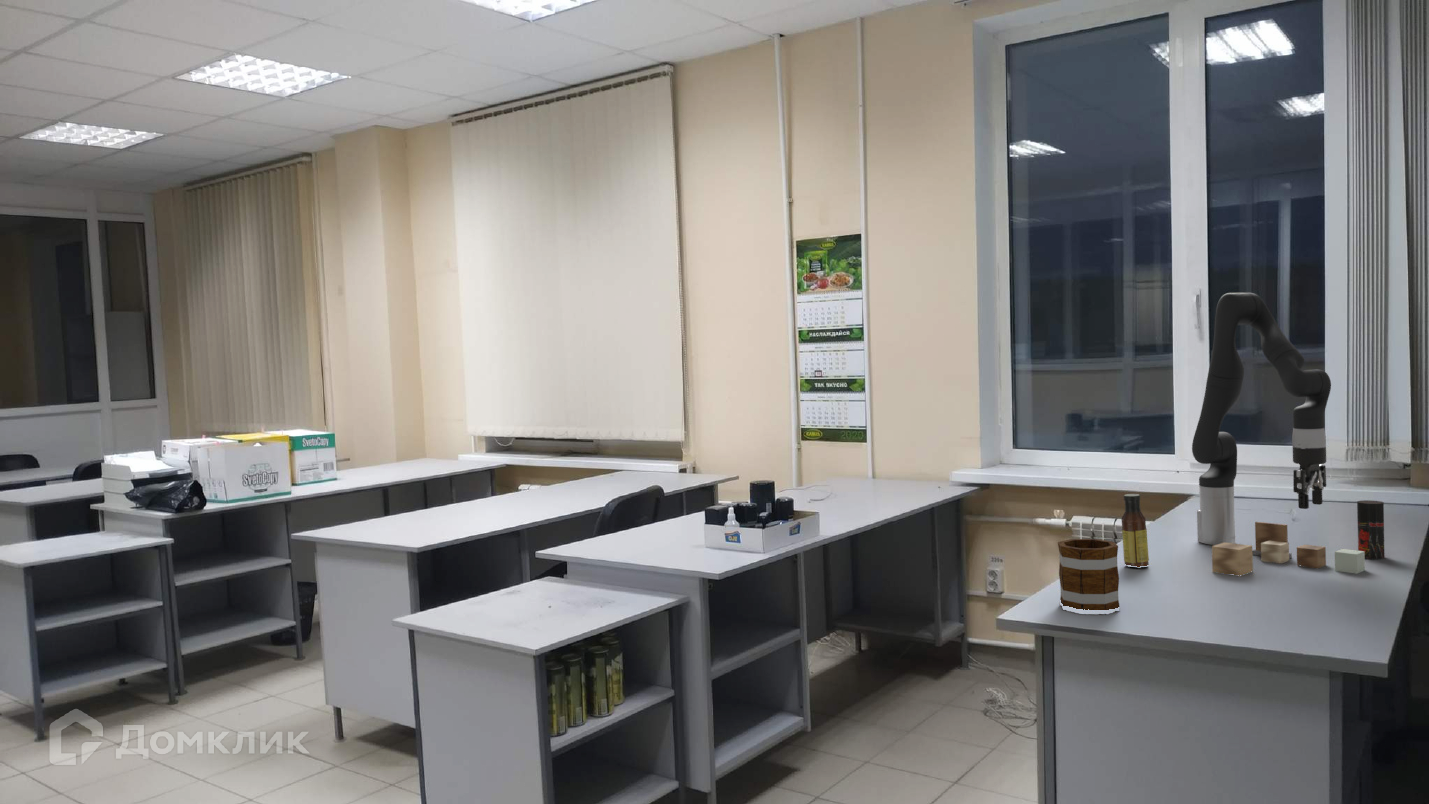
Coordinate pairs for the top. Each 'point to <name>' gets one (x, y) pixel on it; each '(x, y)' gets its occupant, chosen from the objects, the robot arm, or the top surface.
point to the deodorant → (1371, 528)
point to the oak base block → (1232, 558)
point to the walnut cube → (1311, 556)
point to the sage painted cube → (1349, 561)
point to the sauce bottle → (1134, 533)
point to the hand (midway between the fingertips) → (1310, 506)
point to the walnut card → (1269, 535)
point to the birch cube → (1275, 551)
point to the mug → (1089, 574)
